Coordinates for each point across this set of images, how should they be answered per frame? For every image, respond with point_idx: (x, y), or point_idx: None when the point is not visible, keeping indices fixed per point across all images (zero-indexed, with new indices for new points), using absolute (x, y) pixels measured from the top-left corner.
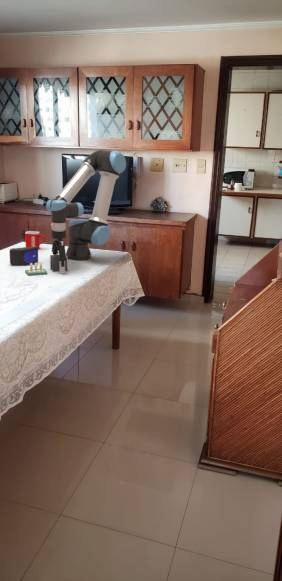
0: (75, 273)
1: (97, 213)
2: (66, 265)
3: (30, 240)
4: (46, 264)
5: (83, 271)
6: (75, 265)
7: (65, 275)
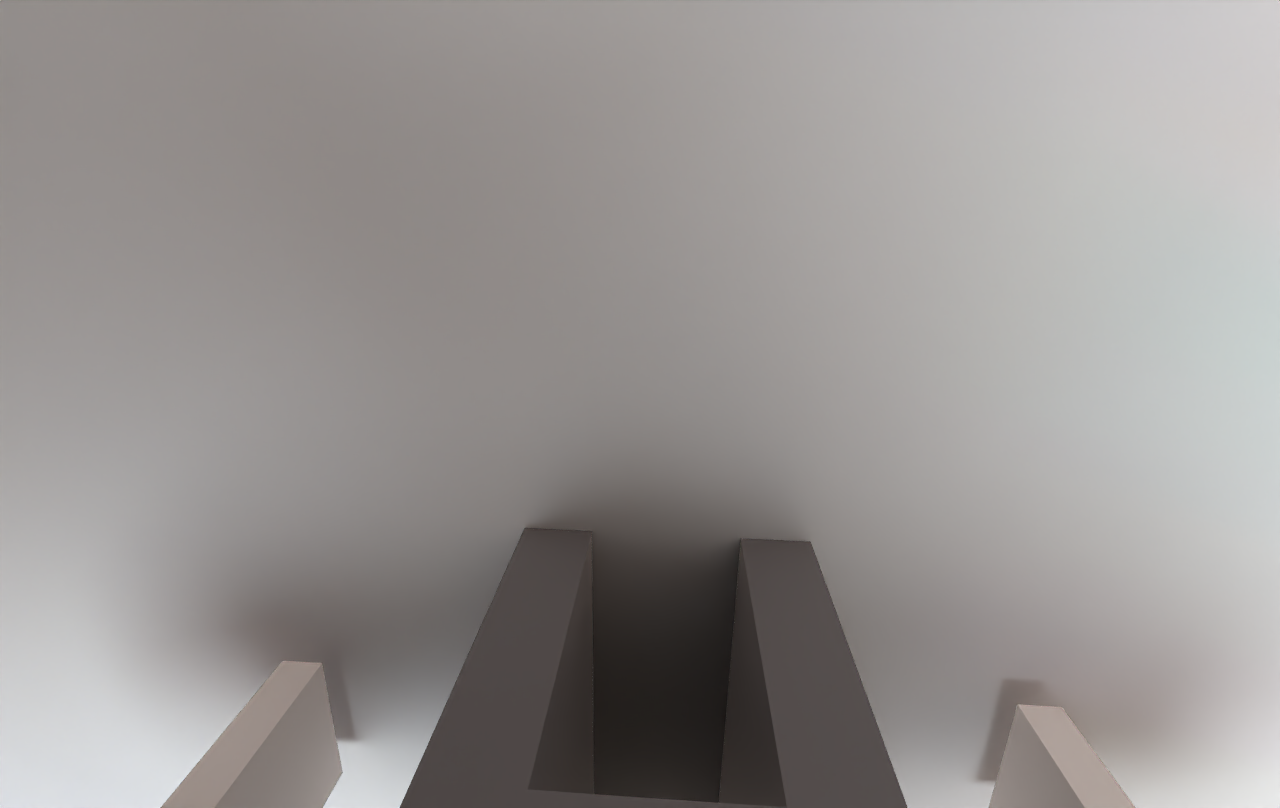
0: (1226, 406)
1: None
2: (852, 696)
3: None
4: (88, 800)
5: (1155, 4)
6: (202, 37)
7: (1240, 724)
